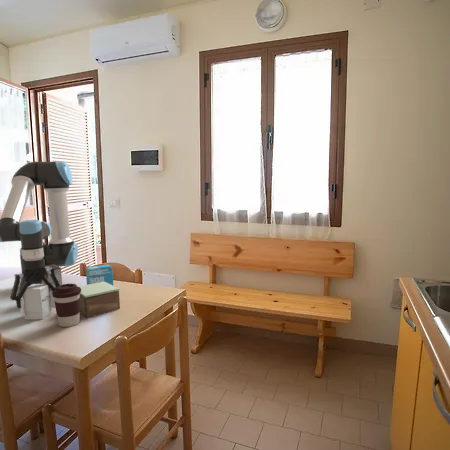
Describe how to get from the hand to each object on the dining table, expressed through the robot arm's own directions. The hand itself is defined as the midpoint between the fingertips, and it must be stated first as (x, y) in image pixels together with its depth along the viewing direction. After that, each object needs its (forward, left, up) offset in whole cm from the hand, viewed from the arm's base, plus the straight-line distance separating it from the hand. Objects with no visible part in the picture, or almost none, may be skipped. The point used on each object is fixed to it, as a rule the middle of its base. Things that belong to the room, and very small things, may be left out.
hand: (38, 311), depth 134 cm
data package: (-14, +32, -2) cm, 35 cm away
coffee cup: (+17, +6, -2) cm, 18 cm away
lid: (+10, +20, +7) cm, 23 cm away
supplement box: (0, 0, -2) cm, 2 cm away
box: (+10, +20, -2) cm, 22 cm away
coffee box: (-15, +10, -2) cm, 18 cm away
